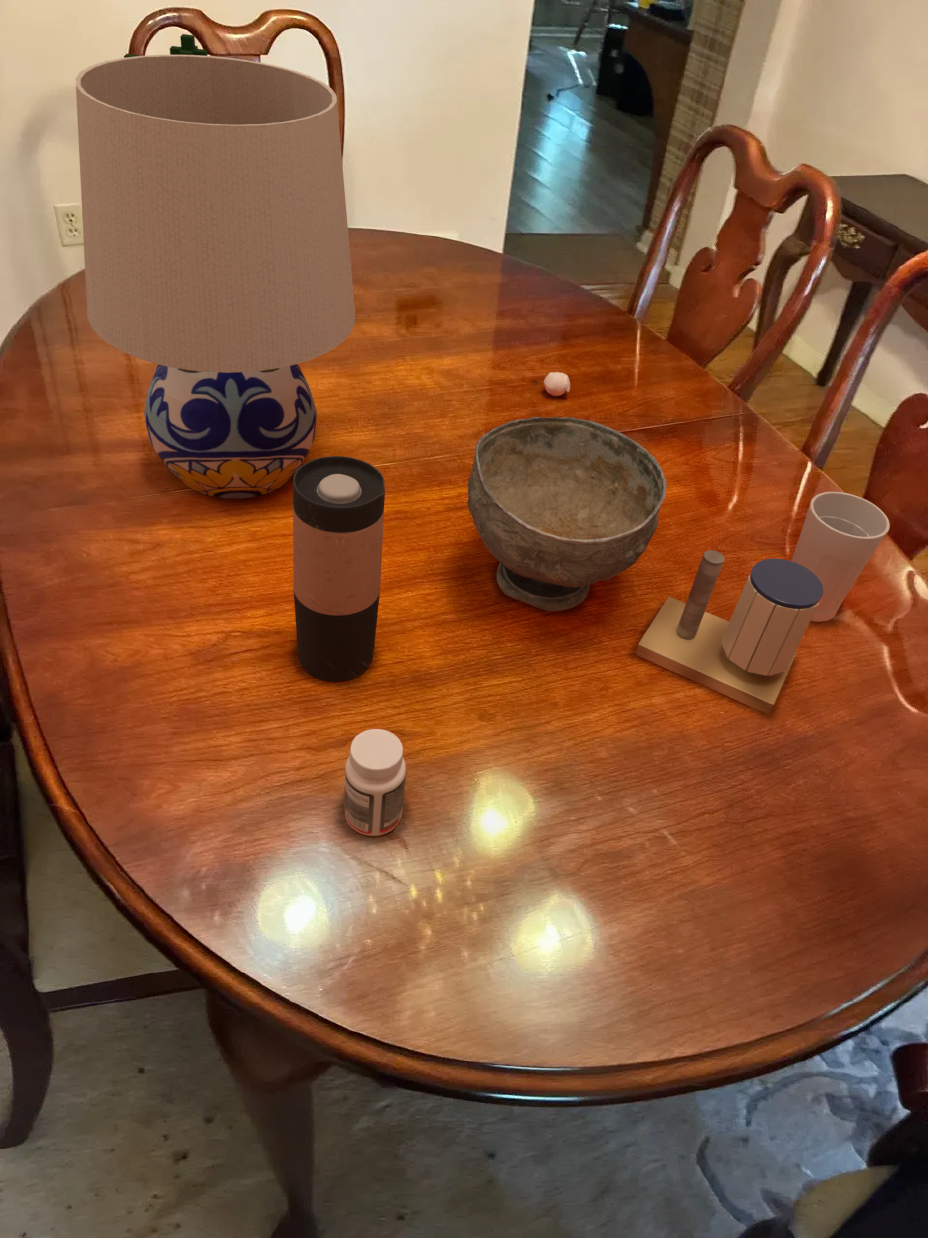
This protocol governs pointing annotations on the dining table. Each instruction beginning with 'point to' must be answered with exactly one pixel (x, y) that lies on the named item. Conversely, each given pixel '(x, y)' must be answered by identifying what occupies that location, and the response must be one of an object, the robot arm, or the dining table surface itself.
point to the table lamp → (216, 253)
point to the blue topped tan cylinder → (771, 616)
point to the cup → (838, 544)
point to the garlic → (557, 383)
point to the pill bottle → (374, 782)
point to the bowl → (562, 506)
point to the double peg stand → (705, 644)
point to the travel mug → (337, 564)
